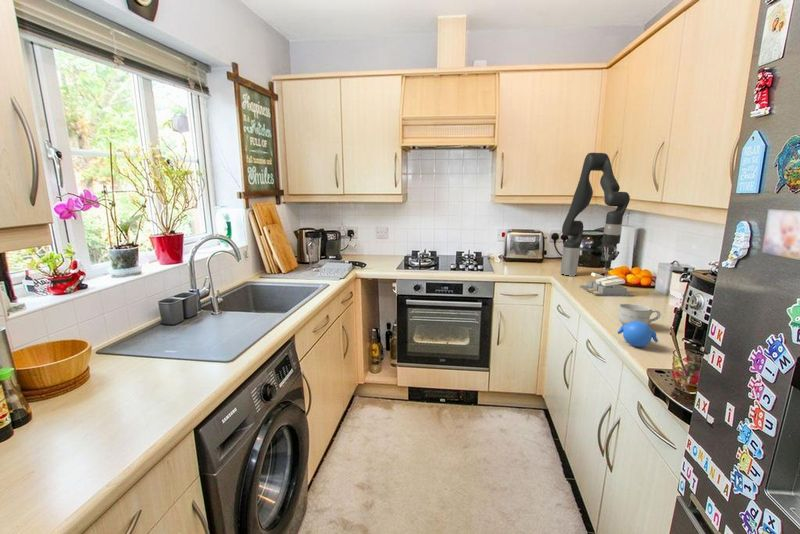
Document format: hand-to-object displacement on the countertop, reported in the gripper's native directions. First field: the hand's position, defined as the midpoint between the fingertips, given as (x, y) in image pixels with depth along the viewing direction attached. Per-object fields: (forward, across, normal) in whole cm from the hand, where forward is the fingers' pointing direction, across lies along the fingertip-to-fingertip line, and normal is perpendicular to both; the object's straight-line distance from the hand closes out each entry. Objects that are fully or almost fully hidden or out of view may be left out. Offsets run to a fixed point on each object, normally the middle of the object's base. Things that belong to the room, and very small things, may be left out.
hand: (607, 267), depth 193 cm
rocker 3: (+8, 0, +4) cm, 9 cm away
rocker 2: (+8, -5, +4) cm, 10 cm away
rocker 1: (+8, -11, +4) cm, 14 cm away
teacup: (+13, +46, -12) cm, 50 cm away
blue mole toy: (+13, +63, -22) cm, 69 cm away
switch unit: (+14, -5, +4) cm, 15 cm away
